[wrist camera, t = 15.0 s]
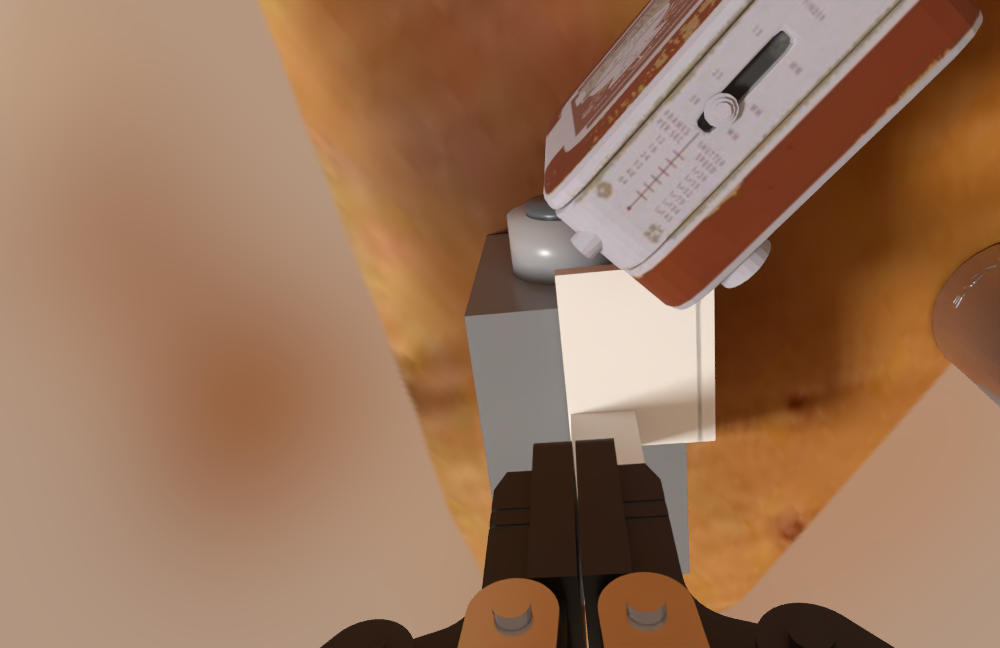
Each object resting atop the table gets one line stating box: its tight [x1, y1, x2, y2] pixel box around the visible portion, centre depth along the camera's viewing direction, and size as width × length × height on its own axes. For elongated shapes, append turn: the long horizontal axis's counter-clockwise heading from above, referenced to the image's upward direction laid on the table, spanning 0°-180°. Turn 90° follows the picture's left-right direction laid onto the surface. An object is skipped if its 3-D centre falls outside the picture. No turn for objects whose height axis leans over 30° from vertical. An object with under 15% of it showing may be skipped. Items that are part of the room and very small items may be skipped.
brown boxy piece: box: [544, 0, 983, 310], centre depth 32 cm, size 9×19×20 cm, turn 140°
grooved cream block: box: [555, 264, 715, 603], centre depth 35 cm, size 9×7×23 cm
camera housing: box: [464, 194, 690, 574], centre depth 42 cm, size 20×10×13 cm, turn 7°
